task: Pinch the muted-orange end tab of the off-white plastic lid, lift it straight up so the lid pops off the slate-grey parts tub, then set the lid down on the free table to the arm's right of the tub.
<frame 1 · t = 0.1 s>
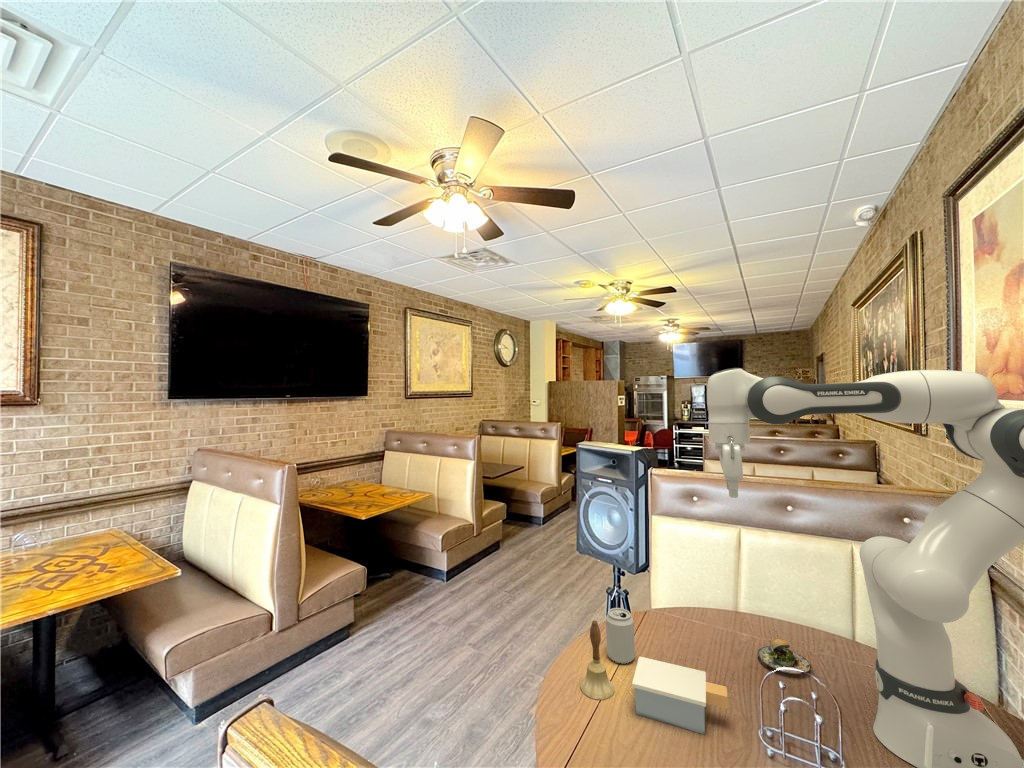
hand: (732, 493, 97), 48 cm above the table, fingers open, 8 cm apart
hand bell: (597, 689, 99), on the table
burger: (784, 666, 107), on the table
tub: (671, 708, 92), on the table
can: (621, 658, 111), on the table
lid: (669, 681, 92), point 6 cm above the table, touching tub
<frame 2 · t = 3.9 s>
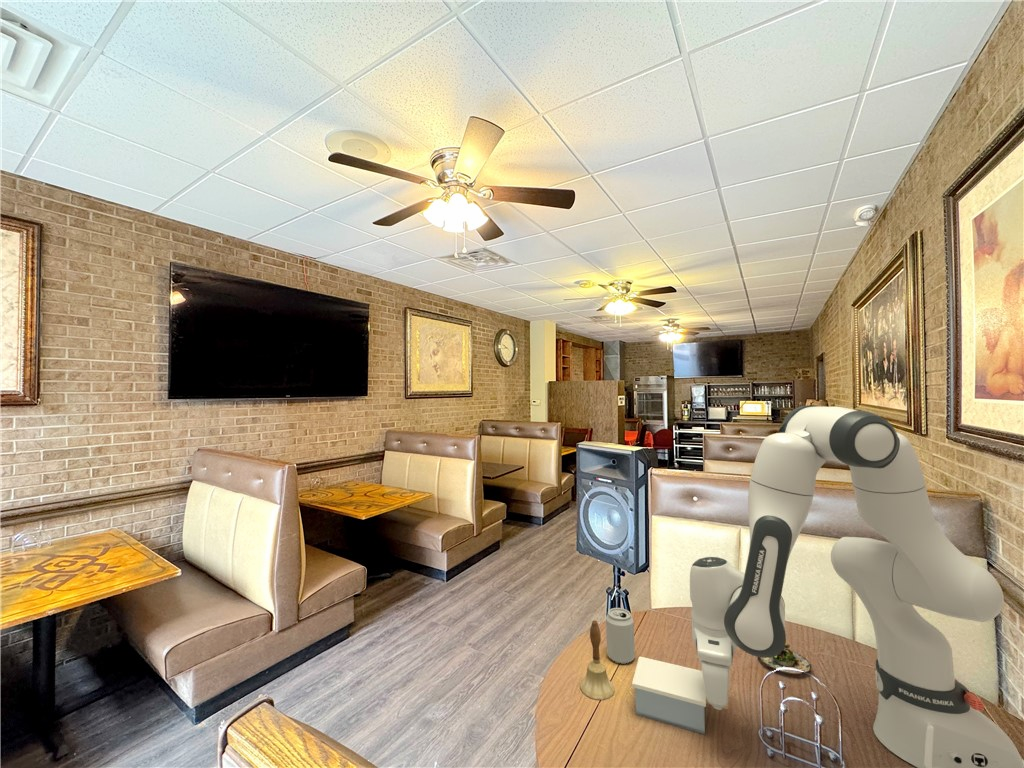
hand: (717, 699, 88), 5 cm above the table, fingers closed on lid, 3 cm apart
lid: (669, 681, 92), point 6 cm above the table, touching gripper, tub
everything else where it was.
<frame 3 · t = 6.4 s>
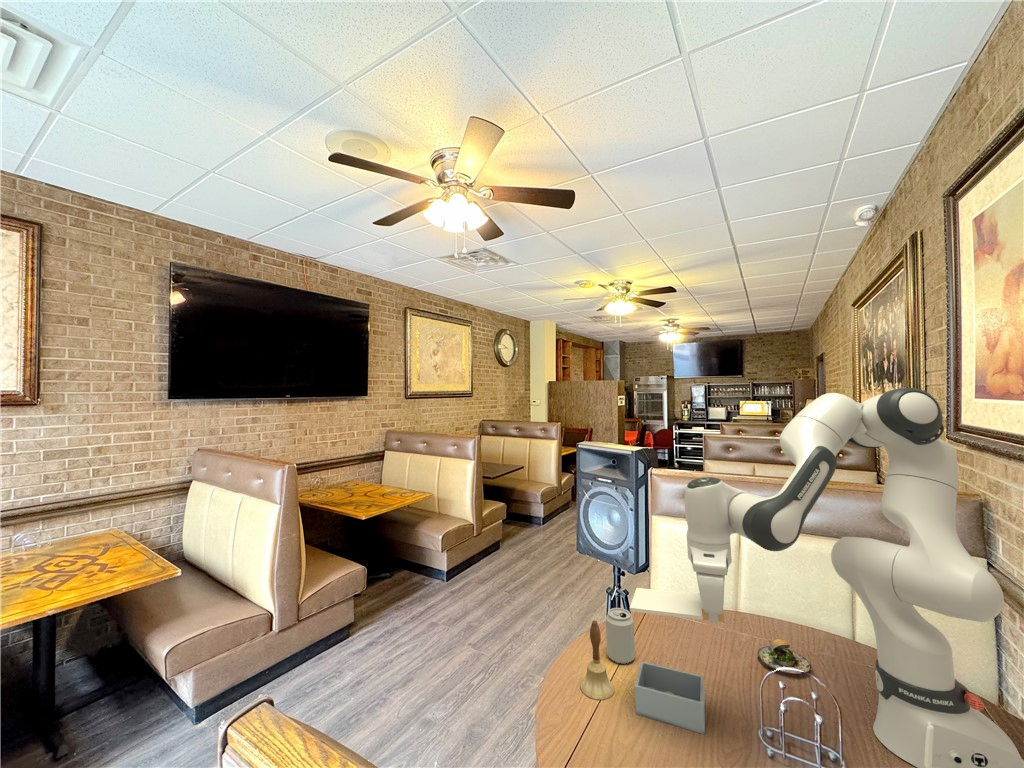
hand: (713, 615, 89), 22 cm above the table, fingers closed on lid, 3 cm apart
lid: (666, 604, 93), point 23 cm above the table, touching gripper
everything else where it was.
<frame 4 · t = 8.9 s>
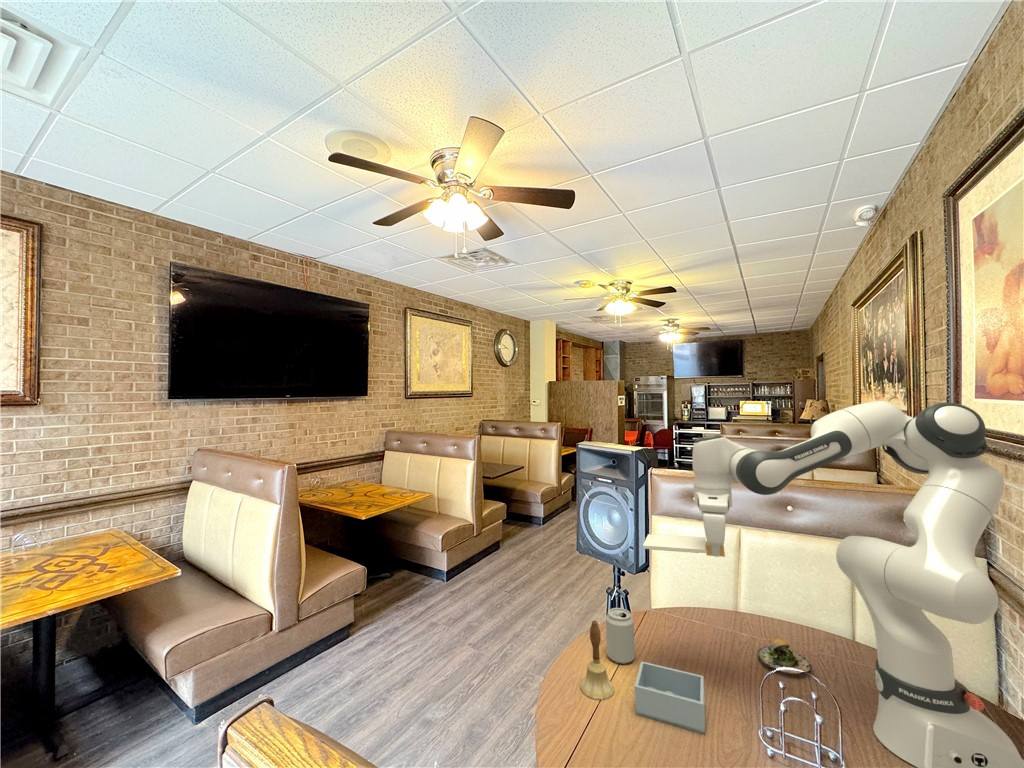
hand: (715, 552, 104), 31 cm above the table, fingers closed on lid, 3 cm apart
lid: (674, 544, 108), point 32 cm above the table, touching gripper
everything else where it was.
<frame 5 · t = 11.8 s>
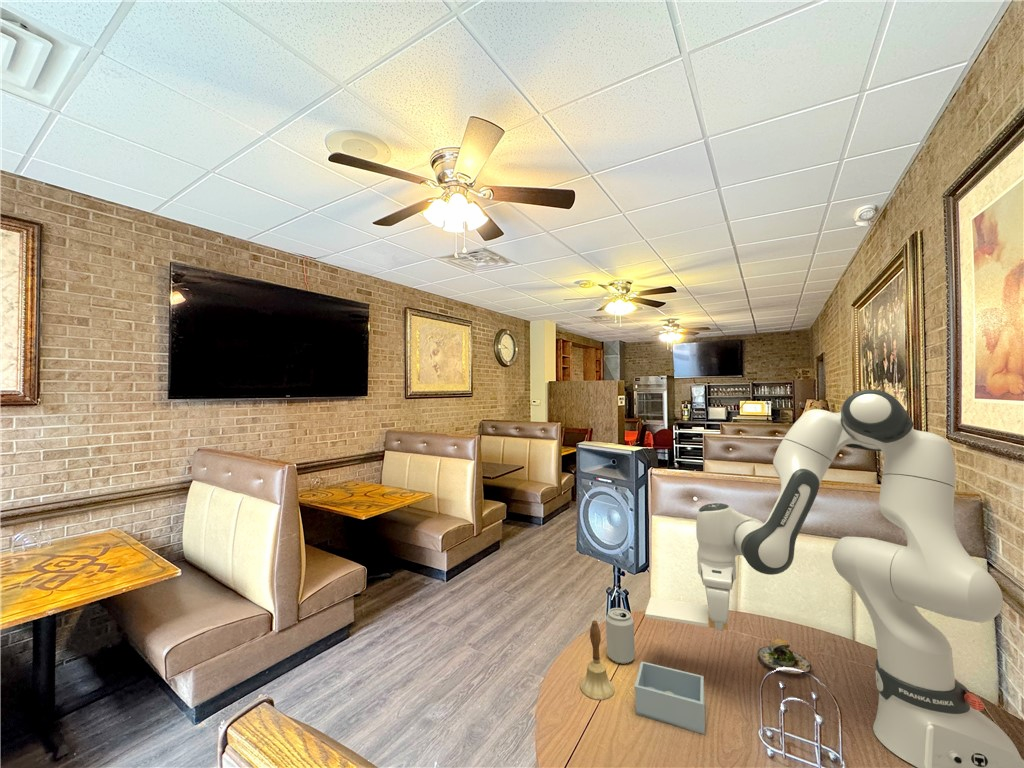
hand: (718, 624, 103), 13 cm above the table, fingers closed on lid, 3 cm apart
lid: (677, 612, 107), point 14 cm above the table, touching gripper
everything else where it was.
when the fingers open (3 cm above the table, at t = 14.3 s): lid drops 2 cm, point 1 cm above the table.
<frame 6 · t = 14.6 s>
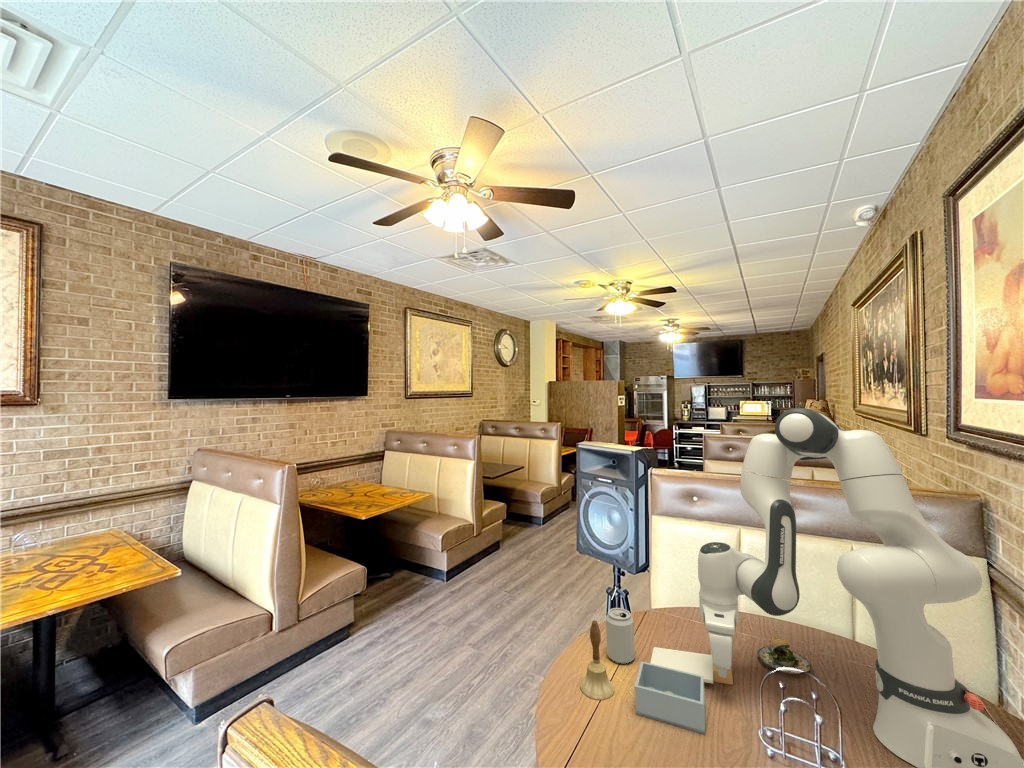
hand: (721, 666, 102), 3 cm above the table, fingers open, 7 cm apart
lid: (681, 665, 106), point 1 cm above the table
everything else where it was.
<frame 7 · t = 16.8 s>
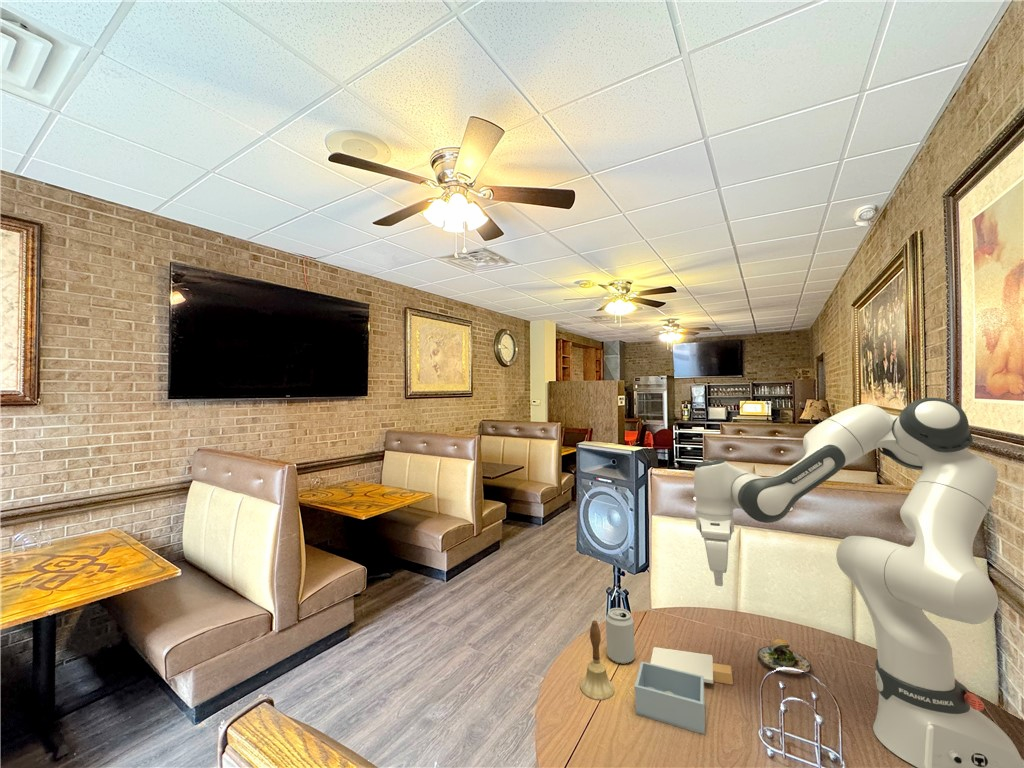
hand: (718, 577, 104), 25 cm above the table, fingers open, 8 cm apart
nothing on the table moved.
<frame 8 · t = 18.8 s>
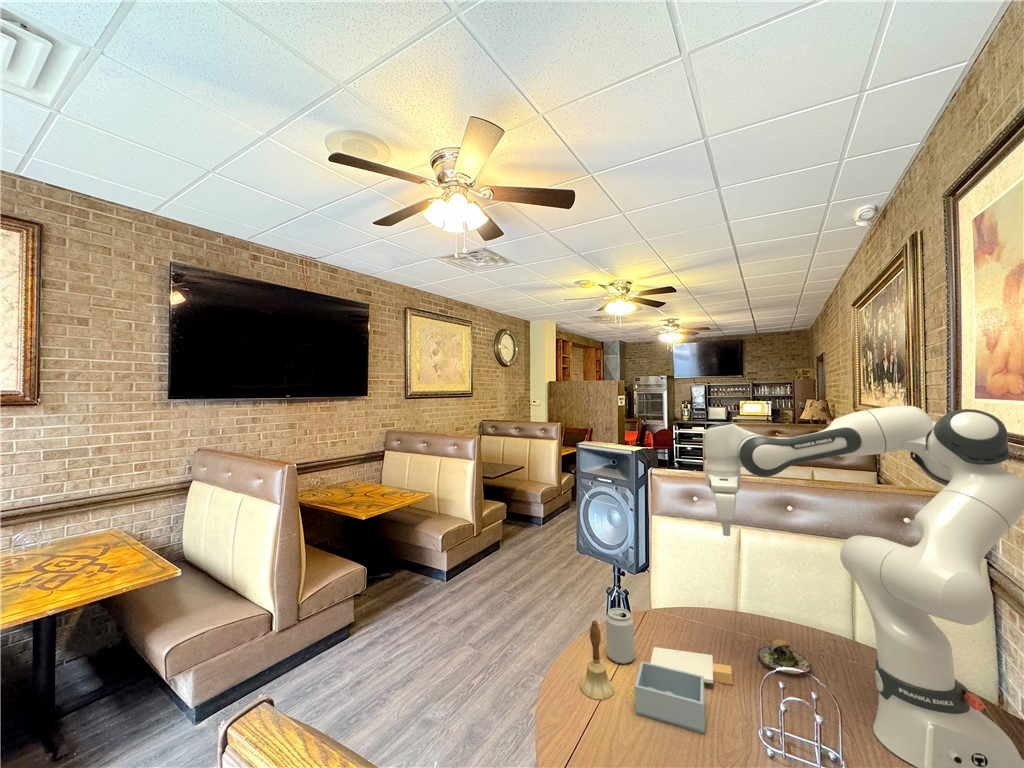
hand: (725, 530, 113), 34 cm above the table, fingers open, 8 cm apart
nothing on the table moved.
at the end: lid moved 16.8 cm from its start; lid point 1.0 cm above the table; the gripper is holding nothing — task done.
